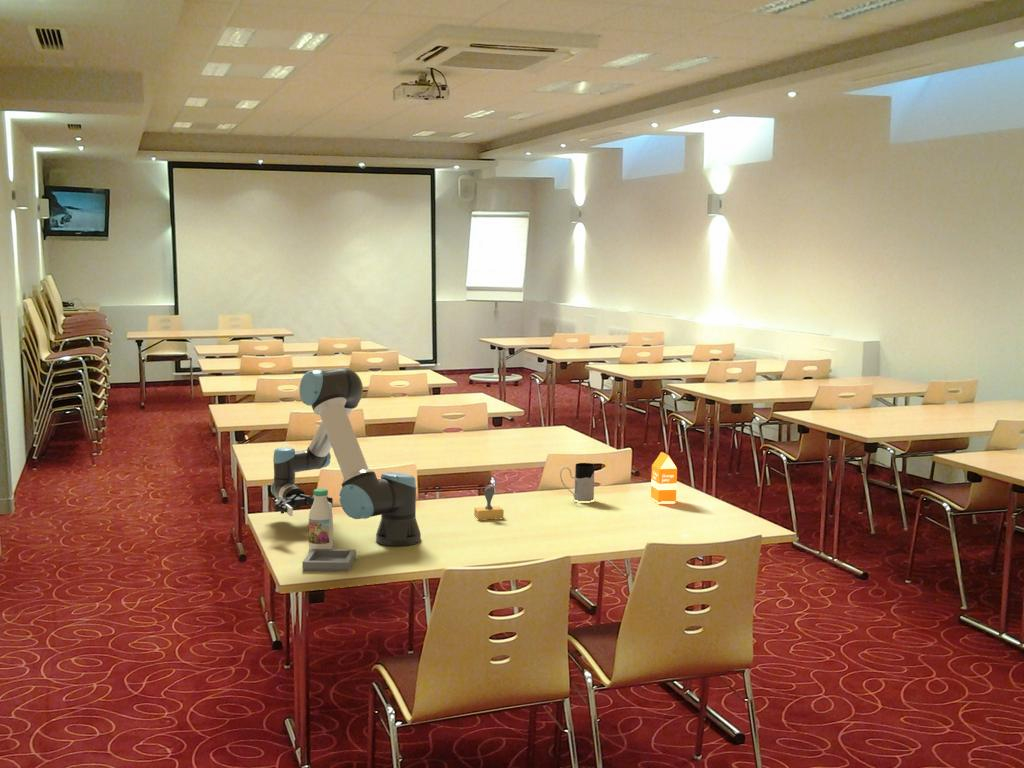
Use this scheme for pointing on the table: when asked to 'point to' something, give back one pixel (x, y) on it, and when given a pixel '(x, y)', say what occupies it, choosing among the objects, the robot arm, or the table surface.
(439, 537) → the table surface
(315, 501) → the milk bottle
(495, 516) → the rubber stamp
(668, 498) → the orange juice
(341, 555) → the tray
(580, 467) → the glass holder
